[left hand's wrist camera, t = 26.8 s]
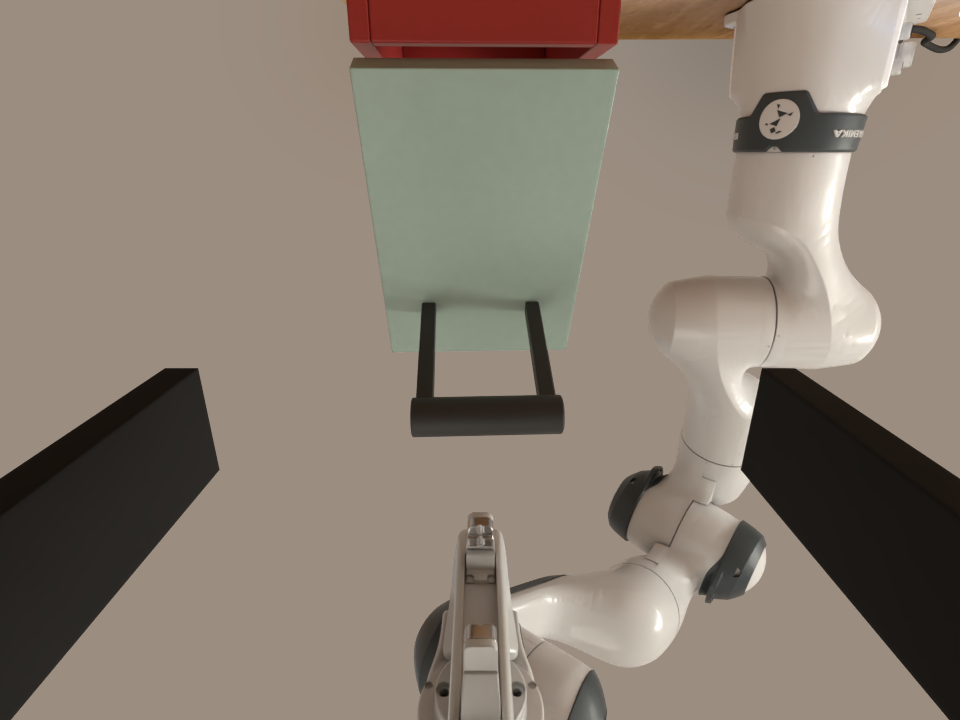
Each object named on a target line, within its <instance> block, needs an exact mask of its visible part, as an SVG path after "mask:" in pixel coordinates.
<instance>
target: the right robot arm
mask: <svg viewBox="0 0 960 720" xmlns="http://www.w3.org/2000/svg"><path fill="white" fill-rule="evenodd" d="M935 2H936V0H752V1H750V2H748V3H747V4H745V5H744V6H743V7H742V8H741V9H740V10H738V11H736V12H733V13H730V14H728V15H726V16H725V17H724V27H726V28H731V29H735V30H734V41H733V52H732V63H731V75H730V87H729V97H730V99H732V101H733V102H734V103H735V104H736V105H737V106H738V108H739V111H740V115H741V118H739V119H738V120H737V121H736V128H735V133H734V134H733V140H734V142H733V152H736V156H735V162H734V168H733V174H732V180H731V186H730V193H729V199H728V205H727V211H726V216H727V221H728V224H729V226H730V228H731V230H732V231H733V232H734V233H735V234H736V235H737V236H738V237H739V238H741V239H742V240H744V241H745V242H747V243H749V244H750V245H752V246H754V247H756V248H758V249H760V250H762V251H764V252H765V253H766V255H767V260H768V268H767V273H766V276H761V277H746V276H709V275H707V276H700V277H693V278H686V279H681V280H675V281H670V282H668V283H667V284H665V285H664V286H663V287H662V288H661V289H660V290H659V292H658V293H657V294H656V296H655V297H654V299H653V301H652V303H651V306H650V309H649V313H648V329H649V333H650V337H651V339H652V341H653V343H654V345H655V346H656V348H657V349H658V350H659V351H660V352H661V353H662V354H663V355H664V356H665V357H667V358H668V359H670V360H671V361H672V362H673V363H674V364H676V366H677V367H678V368H679V369H680V370H681V372H682V373H683V375H684V377H685V379H686V382H687V386H688V399H687V406H686V412H685V417H684V421H683V426H682V430H681V434H680V440H679V447H678V454H677V459H676V462H675V465H674V467H673V469H672V470H671V472H670V473H669V474H667V475H663V468H662V467H661V466H655V467H653V468H652V470H649V471H640V472H637V473H635V474H633V475H630V476H628V477H627V478H626V479H625V480H624V481H623V482H622V483H621V484H620V485H619V486H618V487H617V489H616V490H615V492H614V494H613V496H612V498H611V502H610V507H609V512H608V519H609V524H610V526H611V527H612V529H613V530H614V531H615V532H616V533H617V534H619V535H620V536H621V537H622V538H623V539H624V540H626V541H628V540H629V541H631V542H632V543H633V544H634V545H636V546H637V547H638V548H640V549H641V550H643V551H644V552H645V553H647V555H640V556H635V557H631V558H628V559H625V560H623V561H621V562H619V563H617V564H615V565H614V566H612V567H611V568H609V569H607V570H603V571H599V572H594V573H587V574H577V575H555V576H547V577H543V578H539V579H536V580H533V581H530V582H527V583H524V584H520V585H517V586H515V587H511V588H510V587H509V578H508V569H507V560H506V552H505V545H504V540H503V536H502V534H501V532H500V531H499V530H495V529H493V516H492V515H491V514H490V513H487V512H475V513H474V512H473V513H471V514H469V516H468V529H467V530H462V531H461V532H460V533H459V535H458V539H457V544H456V550H455V559H454V568H453V577H452V587H451V595H450V600H449V601H447V602H445V603H443V604H442V605H440V606H439V607H437V608H436V609H435V610H434V611H433V612H432V613H431V614H430V615H429V617H428V618H427V619H426V620H425V622H424V624H423V625H422V627H421V629H420V631H419V633H418V636H417V638H416V642H415V648H414V665H415V673H416V679H417V683H418V688H419V691H420V694H421V695H420V698H419V703H418V710H417V719H418V720H606V715H607V708H606V703H605V698H604V694H603V690H602V686H601V684H600V681H599V679H598V677H597V674H596V673H595V671H594V670H592V669H591V668H589V667H588V666H587V665H585V664H584V663H582V662H581V661H579V660H577V659H576V658H574V657H573V656H571V655H569V654H568V653H566V652H564V651H563V650H561V649H559V648H558V647H556V646H554V645H553V644H551V643H549V642H547V641H545V640H544V639H542V638H548V639H552V640H556V641H559V642H562V643H564V644H567V645H569V646H572V647H574V648H576V649H579V650H581V651H583V652H585V653H587V654H589V655H591V656H593V657H596V658H598V659H600V660H602V661H604V662H607V663H609V664H612V665H615V666H619V667H638V666H641V665H645V664H648V663H650V662H652V661H654V660H655V659H657V658H658V657H659V656H660V655H661V654H662V653H663V652H664V651H665V650H666V649H667V647H668V646H669V645H670V644H671V642H672V641H673V639H674V638H675V636H676V634H677V633H678V631H679V629H680V627H681V625H682V622H683V619H684V616H685V613H686V610H687V607H688V604H689V602H690V600H691V597H692V596H693V595H694V594H697V593H699V595H706V600H705V602H706V603H711V602H712V601H713V599H726V600H728V599H732V598H736V597H739V596H741V595H743V594H744V593H745V591H747V590H749V589H750V588H752V587H753V586H754V585H755V584H756V583H757V582H758V581H759V579H760V578H761V576H762V574H763V571H764V569H765V564H766V550H765V547H766V542H765V539H764V536H763V535H762V534H761V533H760V532H759V531H757V530H756V529H755V528H754V527H752V526H751V525H750V524H748V523H747V522H745V521H744V520H743V521H739V520H738V519H736V518H735V517H733V516H732V515H730V514H728V513H727V512H725V511H724V510H722V509H720V508H719V507H717V506H715V505H723V504H727V503H730V502H732V501H733V500H735V499H736V498H737V497H738V496H739V495H740V494H741V493H742V491H743V490H744V489H745V487H746V486H747V484H748V483H749V482H750V480H749V479H748V478H747V477H746V476H745V474H744V473H743V472H742V471H741V466H742V461H743V456H744V451H745V447H746V442H747V437H748V432H749V428H750V423H751V418H752V413H753V409H754V404H755V399H756V395H757V390H758V385H759V379H757V378H756V377H754V376H752V375H751V374H749V373H747V372H745V371H746V370H747V369H748V368H750V367H758V366H761V367H781V368H802V369H818V368H826V367H834V366H840V365H847V364H853V363H856V362H858V361H860V360H861V359H862V358H864V357H865V356H866V355H867V354H868V353H869V352H870V350H871V349H872V348H873V346H874V345H875V343H876V341H877V339H878V336H879V333H880V329H881V314H880V310H879V307H878V305H877V303H876V301H875V299H874V297H873V296H872V295H871V294H870V292H869V291H868V290H867V289H865V288H864V287H863V286H862V285H861V284H859V282H858V281H857V280H856V279H855V278H854V277H853V276H852V274H851V273H850V271H849V270H848V268H847V266H846V264H845V262H844V259H843V256H842V253H841V250H840V244H839V236H838V221H839V214H840V207H841V201H842V195H843V189H844V185H845V180H846V175H847V171H848V166H849V162H850V157H851V153H789V152H854V151H856V150H857V147H858V145H859V142H860V139H861V138H862V136H863V133H864V131H863V129H864V126H865V123H866V120H867V116H866V115H865V112H866V110H867V108H868V107H869V105H870V104H871V102H872V101H873V99H874V98H875V97H876V95H878V94H879V93H881V91H882V89H883V88H885V87H887V84H888V81H889V77H890V75H899V74H900V73H901V70H902V68H906V67H909V66H911V64H912V60H913V56H914V52H915V48H916V44H917V42H905V43H902V42H903V40H905V39H909V38H910V36H911V35H912V32H913V33H918V34H921V35H923V36H925V38H924V39H922V41H921V45H922V46H923V47H925V48H927V49H929V50H931V51H933V52H936V53H944V52H948V51H950V50H951V49H953V48H954V47H955V46H956V45H957V44H958V43H959V41H960V38H954V39H953V41H952V42H951V43H950V44H949V45H948V46H945V47H942V46H938V45H936V44H934V43H932V42H930V41H932V40H933V39H934V38H935V37H936V33H935V32H933V31H932V30H930V29H928V28H926V27H923V26H914V25H913V24H917V23H921V22H925V21H926V20H927V19H928V17H929V15H930V13H931V11H932V8H933V6H934V4H935ZM959 16H960V14H959Z"/></svg>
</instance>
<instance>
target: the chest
mask: <svg viewBox="0 0 960 720" xmlns="http://www.w3.org/2000/svg"><path fill="white" fill-rule="evenodd" d="M620 9H621V0H347V12H348V25H349V37H350V42H351V43H352V44H353V45H354V46H355V47H356V48H357V49H358V50H359V52H360V53H361V54H362V55H363V56H364V57H365V58H507V59H596V58H598V57H599V56H601V55H602V54H604V53H605V52H606V51H608V50H609V49H611V48H612V47H614V46H615V45H616V44H617V43H618V34H619V22H620Z"/></svg>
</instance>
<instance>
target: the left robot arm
mask: <svg viewBox="0 0 960 720" xmlns="http://www.w3.org/2000/svg"><path fill="white" fill-rule="evenodd" d="M218 471H219V466H218V461H217V456H216V451H215V447H214V442H213V437H212V432H211V428H210V423H209V418H208V413H207V409H206V404H205V399H204V395H203V390H202V385H201V380H200V376H199V371H198V368H165V369H163V370H162V371H160V372H159V373H157V374H156V375H154V376H153V377H151V378H150V379H148V380H147V381H145V382H144V383H142V384H141V385H139V386H138V387H136V388H135V389H133V390H132V391H130V392H129V393H128V394H126V395H125V396H123V397H122V398H120V399H119V400H117V401H116V402H114V403H113V404H111V405H110V406H108V407H107V408H105V409H104V410H102V411H101V412H99V413H98V414H96V415H95V416H93V417H92V418H90V419H89V420H87V421H86V422H84V423H83V424H81V425H80V426H78V427H77V428H75V429H74V430H72V431H71V432H69V433H68V434H66V435H65V436H63V437H62V438H60V439H59V440H57V441H56V442H54V443H53V444H51V445H50V446H48V447H47V448H45V449H44V450H42V451H41V452H39V453H38V454H36V455H35V456H33V457H32V458H30V459H29V460H27V461H26V462H24V463H23V464H21V465H20V466H18V467H17V468H16V469H14V470H13V471H11V472H10V473H8V474H7V475H5V476H4V477H2V478H1V479H0V720H11V719H12V718H13V716H14V715H15V714H16V713H17V712H18V711H19V709H20V708H21V707H22V706H23V705H24V703H25V702H26V701H27V700H28V699H29V697H30V696H31V695H32V694H33V692H34V691H35V690H36V689H37V688H38V686H39V685H40V684H41V683H42V682H43V681H44V679H45V678H46V677H47V676H48V675H49V673H50V672H51V671H52V670H53V669H54V667H55V666H56V665H57V664H58V663H59V661H60V660H61V659H62V658H63V656H64V655H65V654H66V653H67V652H68V651H69V649H70V648H71V647H72V646H73V645H74V643H75V642H76V641H77V640H78V639H79V637H80V636H81V635H82V634H83V633H84V631H85V630H86V629H87V628H88V627H89V625H90V624H91V623H92V622H93V621H94V619H95V618H96V617H97V616H98V615H99V613H100V612H101V611H102V610H103V609H104V607H105V606H106V605H107V604H108V603H109V601H110V600H111V599H112V598H113V597H114V595H115V594H116V593H117V592H118V591H119V589H120V588H121V587H122V586H123V585H124V583H125V582H126V581H127V580H128V579H129V578H130V576H131V575H132V574H133V573H134V571H135V570H136V569H137V568H138V567H139V565H140V564H141V563H142V562H143V561H144V560H145V558H146V557H147V556H148V555H149V554H150V552H151V551H152V550H153V549H154V547H155V546H156V545H157V544H158V543H159V542H160V540H161V539H162V538H163V537H164V536H165V534H166V533H167V532H168V531H169V530H170V528H171V527H172V526H173V525H174V524H175V522H176V521H177V520H178V519H179V518H180V516H181V515H182V514H183V513H184V512H185V510H186V509H187V508H188V507H189V506H190V504H191V503H192V502H193V501H194V500H195V498H196V497H197V496H198V495H199V494H200V492H201V491H202V490H203V489H204V488H205V486H206V485H207V484H208V483H209V482H210V480H211V479H212V478H213V477H214V476H215V474H216V473H217V472H218ZM741 471H742V472H743V473H744V474H745V476H746V477H747V478H748V479H749V480H750V482H751V483H752V484H753V485H754V486H755V488H756V489H757V490H758V491H759V492H760V494H761V495H762V496H763V497H764V498H765V500H766V501H767V502H768V503H769V504H770V506H771V507H772V508H773V509H774V510H775V512H776V513H777V514H778V515H779V516H780V517H781V519H782V520H783V521H784V522H785V524H786V525H787V526H788V527H789V528H790V530H791V531H792V532H793V533H794V534H795V536H796V537H797V538H798V539H799V540H800V541H801V543H802V544H803V545H804V546H805V548H806V549H807V550H808V551H809V552H810V554H811V555H812V556H813V557H814V558H815V560H816V561H817V562H818V563H819V564H820V565H821V567H822V568H823V569H824V570H825V572H826V573H827V574H828V575H829V576H830V578H831V579H832V580H833V581H834V582H835V583H836V585H837V586H838V587H839V588H840V589H841V591H842V592H843V593H844V594H845V595H846V597H847V598H848V599H849V600H850V601H851V603H852V604H853V605H854V606H855V607H856V609H857V610H858V611H859V612H860V613H861V615H862V616H863V617H864V618H865V619H866V621H867V622H868V623H869V624H870V625H871V627H872V628H873V629H874V630H875V631H876V633H877V634H878V635H879V636H880V637H881V639H882V640H883V641H884V642H885V643H886V645H887V646H888V647H889V648H890V649H891V651H892V652H893V653H894V654H895V655H896V657H897V658H898V659H899V660H900V661H901V663H902V664H903V665H904V666H905V667H906V669H907V670H908V671H909V672H910V673H911V675H912V676H913V677H914V678H915V679H916V681H917V682H918V683H919V684H920V685H921V687H922V688H923V689H924V690H925V691H926V693H927V694H928V695H929V696H930V697H931V699H932V700H933V701H934V702H935V703H936V705H937V706H938V707H939V708H940V709H941V711H942V712H943V713H944V714H945V715H946V716H947V718H948V719H949V720H960V479H959V478H958V477H956V476H955V475H953V474H952V473H950V472H949V471H947V470H946V469H944V468H943V467H941V466H940V465H938V464H937V463H936V462H934V461H933V460H931V459H930V458H928V457H927V456H925V455H924V454H922V453H921V452H919V451H918V450H916V449H915V448H913V447H912V446H910V445H909V444H907V443H906V442H904V441H903V440H901V439H900V438H898V437H897V436H895V435H894V434H892V433H891V432H889V431H888V430H886V429H885V428H883V427H882V426H880V425H879V424H877V423H876V422H874V421H873V420H871V419H870V418H868V417H867V416H865V415H864V414H862V413H861V412H859V411H858V410H856V409H855V408H853V407H852V406H850V405H849V404H847V403H846V402H844V401H843V400H841V399H840V398H838V397H837V396H835V395H834V394H832V393H831V392H829V391H828V390H827V389H825V388H824V387H822V386H821V385H819V384H818V383H816V382H814V381H813V380H812V379H810V378H809V377H807V376H806V375H804V374H803V373H801V372H800V371H798V370H797V369H795V368H762V371H761V376H760V380H759V385H758V390H757V395H756V399H755V404H754V409H753V413H752V418H751V423H750V428H749V432H748V437H747V442H746V447H745V451H744V456H743V461H742V466H741Z"/></svg>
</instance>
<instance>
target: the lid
mask: <svg viewBox="0 0 960 720" xmlns="http://www.w3.org/2000/svg"><path fill="white" fill-rule="evenodd" d="M349 70H350V76H351V83H352V89H353V96H354V103H355V109H356V115H357V122H358V129H359V136H360V142H361V148H362V155H363V162H364V169H365V175H366V182H367V189H368V195H369V202H370V208H371V215H372V221H373V228H374V235H375V241H376V248H377V254H378V261H379V268H380V274H381V281H382V287H383V294H384V301H385V307H386V314H387V320H388V327H389V334H390V340H391V347H392V352H419V359H418V376H417V393H416V398H412V400H411V412H410V421H411V434H412V436H413V437H440V436H483V435H528V434H561V433H562V432H563V430H564V423H565V412H564V403H563V399H562V397H561V396H560V395H556V394H555V389H554V383H553V378H552V372H551V367H550V361H549V355H548V350H555V349H566V345H567V340H568V335H569V330H570V324H571V319H572V314H573V309H574V304H575V298H576V293H577V288H578V283H579V277H580V272H581V267H582V262H583V257H584V251H585V246H586V241H587V236H588V231H589V225H590V220H591V215H592V210H593V205H594V199H595V194H596V189H597V184H598V178H599V173H600V168H601V163H602V158H603V152H604V147H605V142H606V137H607V132H608V126H609V121H610V116H611V111H612V106H613V100H614V95H615V90H616V85H617V80H618V74H619V68H618V67H617V65H616V63H615V62H614V60H613V59H507V58H353V61H352V63H351V66H350V69H349ZM495 350H530V352H531V359H532V365H533V372H534V379H535V386H536V393H537V395H526V396H473V397H434V374H435V351H495Z"/></svg>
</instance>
